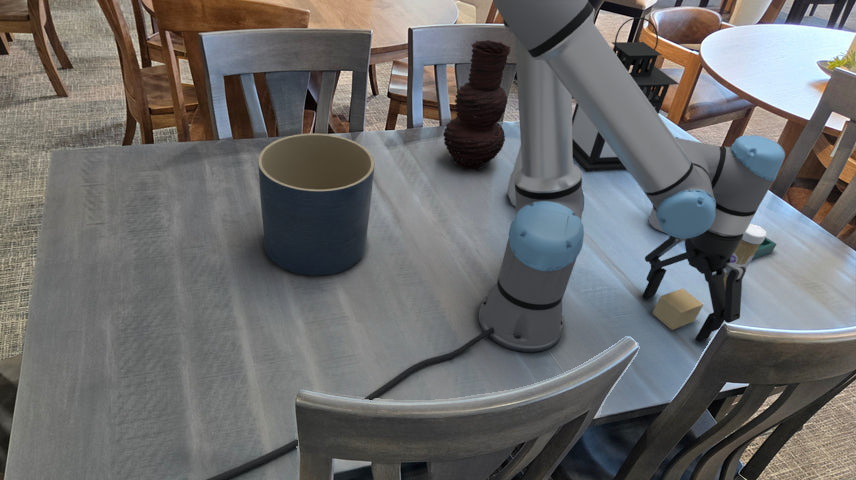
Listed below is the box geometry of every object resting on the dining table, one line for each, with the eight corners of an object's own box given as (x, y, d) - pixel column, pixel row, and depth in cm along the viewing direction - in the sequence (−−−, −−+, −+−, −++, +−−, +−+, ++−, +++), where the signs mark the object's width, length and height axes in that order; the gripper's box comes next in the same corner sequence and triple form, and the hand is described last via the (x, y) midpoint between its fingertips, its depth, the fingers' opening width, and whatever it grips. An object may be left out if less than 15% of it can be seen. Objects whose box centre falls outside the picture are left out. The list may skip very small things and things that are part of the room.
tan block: (672, 330, 119) (681, 312, 116) (651, 313, 122) (660, 296, 119) (694, 321, 121) (703, 304, 118) (674, 305, 124) (682, 288, 121)
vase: (430, 151, 168) (446, 37, 148) (482, 145, 172) (505, 33, 152) (454, 180, 156) (475, 61, 137) (509, 173, 160) (537, 57, 141)
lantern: (585, 171, 163) (630, 34, 141) (557, 140, 176) (595, 10, 154) (645, 168, 166) (699, 34, 144) (614, 138, 179) (658, 10, 157)
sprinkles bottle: (709, 280, 131) (737, 227, 122) (719, 272, 133) (748, 220, 125) (730, 292, 128) (761, 239, 120) (740, 284, 130) (771, 231, 122)
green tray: (740, 263, 136) (744, 255, 135) (704, 239, 142) (708, 230, 141) (772, 252, 140) (777, 244, 138) (735, 229, 146) (739, 220, 145)
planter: (378, 226, 139) (386, 144, 127) (351, 288, 123) (356, 200, 110) (284, 207, 143) (282, 125, 130) (245, 264, 127) (239, 177, 114)
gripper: (800, 261, 101) (741, 353, 114) (679, 185, 117) (640, 274, 131) (770, 272, 98) (712, 366, 112) (650, 193, 114) (613, 283, 128)
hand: (673, 317), depth 121 cm, fingers open, 12 cm apart
